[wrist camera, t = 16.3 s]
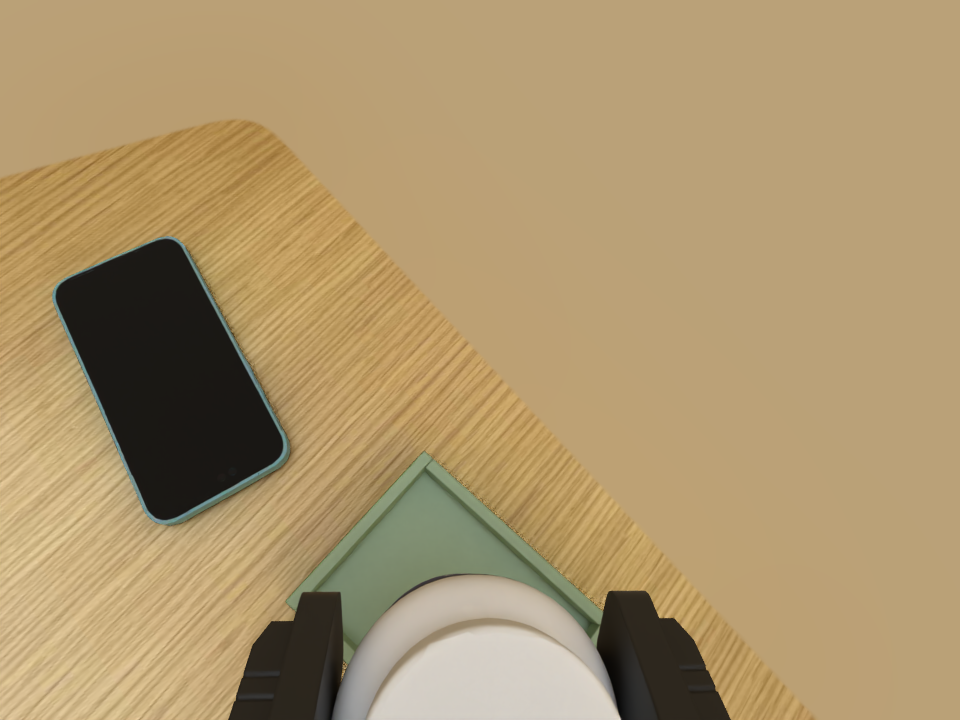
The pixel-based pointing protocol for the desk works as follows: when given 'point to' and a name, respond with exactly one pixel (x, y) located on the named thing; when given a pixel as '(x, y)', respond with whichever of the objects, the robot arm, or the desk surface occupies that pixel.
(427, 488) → the tray
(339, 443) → the desk surface
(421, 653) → the pill bottle
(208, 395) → the smartphone
